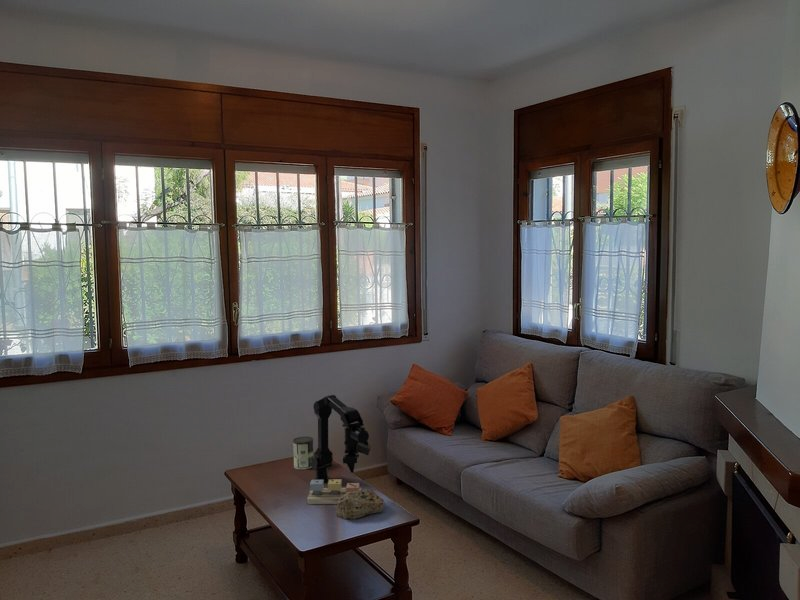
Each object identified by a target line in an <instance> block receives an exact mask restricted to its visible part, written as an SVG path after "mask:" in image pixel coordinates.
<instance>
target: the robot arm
mask: <svg viewBox="0 0 800 600" xmlns="http://www.w3.org/2000/svg"><path fill="white" fill-rule="evenodd" d="M312 407H313V411H314V415H315V417H316V418H317V449H316V451H315V452H314V456H313V457H314V460H313V461H312V463H311V467H312V468H311V469H313V470H314V471H315V479H314V480H324V483H328V482H329V479H330V476H329V471H328V470H329V469H328V468H331V467H332V465H333V459H334V457H333V456H334V455H333V452H332V451H331V449H330V448H329V418H330V416H331V415H332V411H334V412H336V413H337V414H338V415H339V417H340V421H341V422H342V423H343V424H342V425H341V426H342V427H343V428H344V442H343V443H344V455H343V457H342V463H343V464H346V466H347V468H348V469H349V471H350V473H354V471H355V467H356V465H355V464H357V463H358V460H359V457H360V454H364V455H366V456H369V454H370V452H371V449H372V446H371V445H370V442H369V441H368V440H369V438H370V435H369V432H368V431H367V430H366V428H365V427H364V421H363V418H362V416H361V414H360V412H359V411H358V409H356V408H354V407H350V406H347V405H346V404H345V403H343V402H342V401H341V400H340V399H339V398H337V396H336V395H335V394H330V395H326V396H324V397H323V398H321V399H319V400H316V401H315V402H314V403H313V406H312ZM359 453H360V454H359Z"/></svg>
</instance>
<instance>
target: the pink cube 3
mask: <svg viewBox="0 0 800 600" xmlns="http://www.w3.org/2000/svg"><path fill="white" fill-rule="evenodd" d="M345 488H346V493H347V492H353V491H355V490H356V491H359V490H360V489H359V488H360V482H347V483H346V486H345Z"/></svg>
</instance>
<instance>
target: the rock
mask: <svg viewBox="0 0 800 600" xmlns="http://www.w3.org/2000/svg"><path fill="white" fill-rule="evenodd" d="M384 505H385V501H384V498H382V497H381V496H380V495H378V494H377V493H376V492H374V490H371V489H362V490H359V491H356V490H355V491H353V492H347V493H346V494H345V495H343V496H342V497H341V498H339V501H338V502H337V504H336V506H337V507H336V509H337V510H336V512H335V513H336V516H337V517H338V518H341V519H344V520H347V519H350V520H351V519H353V520H355V519H359V518H362V517H366V516H369V515H372V514H374V513H375V514H377V513H382V512H383V510H384Z"/></svg>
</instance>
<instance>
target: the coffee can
mask: <svg viewBox="0 0 800 600" xmlns="http://www.w3.org/2000/svg"><path fill="white" fill-rule="evenodd" d="M292 446H293V450H292V451H293V468H294V469H296V470H309V469H313V468H312V467H311V463H312V461H313V460H314V457H315V456H314V438H313V437H312V436H311V437H310V436H298V437H295V438H293V439H292Z"/></svg>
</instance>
